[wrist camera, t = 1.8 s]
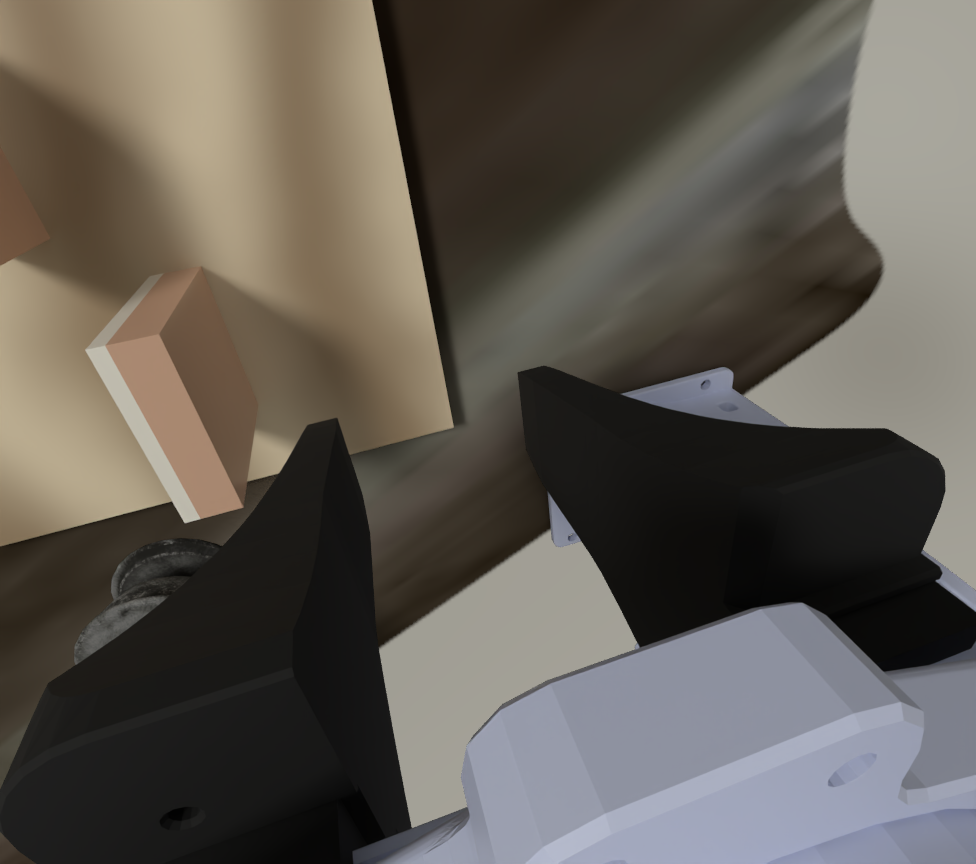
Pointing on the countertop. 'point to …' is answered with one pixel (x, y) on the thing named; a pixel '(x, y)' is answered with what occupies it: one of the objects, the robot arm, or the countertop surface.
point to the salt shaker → (143, 587)
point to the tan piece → (16, 216)
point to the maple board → (204, 232)
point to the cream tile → (182, 391)
